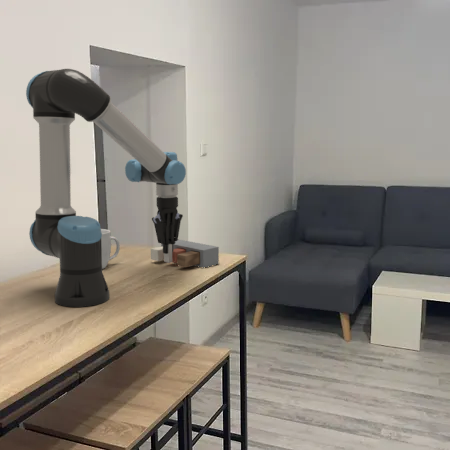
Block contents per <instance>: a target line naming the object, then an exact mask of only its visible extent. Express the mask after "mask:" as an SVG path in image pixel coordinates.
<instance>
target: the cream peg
mask: <svg viewBox="0 0 450 450" xmlns="http://www.w3.org/2000/svg"><path fill="white" fill-rule="evenodd" d="M150 260H151V261H152V260H153V261H157V262H160V261H164V253H163V246H156V247H153V248H150Z"/></svg>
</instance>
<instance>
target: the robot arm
mask: <svg viewBox="0 0 450 450" xmlns="http://www.w3.org/2000/svg"><path fill="white" fill-rule="evenodd" d="M25 95H26V100H27V102H28V104H29V105H30V107H31V108H32V112H33V113H32V115H33V116H32V117H33V119H34V120H35V121H36V122H37V124H38V129H39V132H38V137H39V139H38V140H39V177H40V178H39V181H40V182H39V186H40V206H39V208H38V209H37V210H36V211H35V215H34V216H35V220H33V222H32V223H31V225H30V228H29V233H28V234H29V239H30V242H31V245H32V246H33V248H35V249H36V250H37V251H39V252H40V253H42V254H43V255H46V256H50V257H54V258H56V259H59V276H58V277H59V278H58V281H57V285H56V288H55V291H54V301H55V303H56V304H57V305H60V306H63V307H71V308H72V307H73V308H79V307H80V308H81V307H90V306H91V307H92V306H96V305H100V304H103V303H105V302H107V301H108V300H109V299H110V290H109V287H108V284H107V282H106V278H105V275H104V273H103V269H102V247H101V237H102V233H101V229H102V228H101V224H100V222H99V221H98V220H97V219H95V218H93V217H89V216H81V215H77V211H76V209H74V208H73V206H72V205H71V204H72V202H71V200H72V198H71V136H70V135H71V131H70V129H71V124H72V123H74V121H75V120H76V115H78V116H80V117H81V118H82V119H84V120H85V121H86V122H87V123H94V124H95V125H96V126H97V127H98V128H100V129H101V131H103V132H104V133H105V134H106V135H108V137H110V139H112V140H113V141H114V142H116V143H117V145H119V146H120V147H121V148H122V149H123V150H124V151H126V152H127V153H128V154H129V155H130V156H131V157H132V158H133V159H129V160H128V161H127V162H126V164H125V167H124V173H125V176H126V178H127V180H128V181H130V182H132V183H141V182H147V183H155V184H156V186H155V187H156V190H155V193H156V196H157V197H156V207H157V212H156V215H155V217H154V216H153V217H152V218H151V221H152V223H153V225H154V230H155V234H156V239H157V243H158V244H160V245H161V244H163V253H164V260H163V261H164V263H169V264H171V263H173V262H172V252H173V244H175V243H176V242H175V241H177V240H178V239H179V234H180V227H181V221H182V219H183V217H184V216H183V214H181V213H179V212H178V207H179V197H178V196H179V186H178V185H180V184H181V183H182V182H183V181H184V180H185V178H186V174H187V170H186V167H185V165H184V163H183V162H181V161H179V160H178V154H177V153H176V152H174V151H163V150H162V149H160V147H159V146H158V145H156V144H155V142H153V140H151V139H150V138H149V137H148V136H147V135H146V134H145V133H144V132H143V131H142V130H141V129H140V128H138V127H137V125H135V124H134V122H132V120H131V119H129V118H128V117H127V116H126V115H125V114H124V113H123V112H121V110H120V109H119V108H118V107H117V106H116V105H114V104H113V102H112V100H111V99H112V98H111V96H110V94H108V93H107V92H106V91H105V90H104V89H103V88H102V87H101V86H100V85H99V84H97V82H95V81H94V80H93V79H91V78H90V77H89V76H87V75H86V74H84V73H83V72H81V71H79V70H77V69H74V68H73V69H72V68H61V69H54V70H45V71H42V72H40V73H37V74H35V75H34V76H33V77H32V78H31V79H30V80H29V81H28V83H27V86H26V90H25Z"/></svg>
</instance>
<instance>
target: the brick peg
mask: <svg viewBox="0 0 450 450" xmlns="http://www.w3.org/2000/svg"><path fill="white" fill-rule="evenodd" d="M181 253H186V249H183V248H178V249H173V252H172V262H171V263H173V264H177V254H181Z"/></svg>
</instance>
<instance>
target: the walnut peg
mask: <svg viewBox="0 0 450 450" xmlns="http://www.w3.org/2000/svg"><path fill="white" fill-rule="evenodd" d="M176 264H177V266H179V267H182V268H189V267H194V266H193V265H197V264H200V252H198V251H190V252H186V253H181V254H177V263H176Z"/></svg>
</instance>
